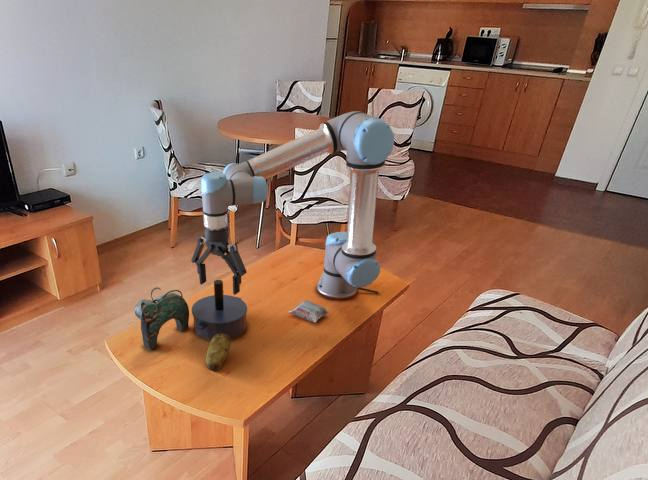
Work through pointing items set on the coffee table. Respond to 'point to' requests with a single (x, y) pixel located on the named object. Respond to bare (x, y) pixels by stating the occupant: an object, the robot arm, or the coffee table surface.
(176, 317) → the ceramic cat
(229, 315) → the lid
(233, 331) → the pot
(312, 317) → the packaged food
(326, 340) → the coffee table surface
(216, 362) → the potato
